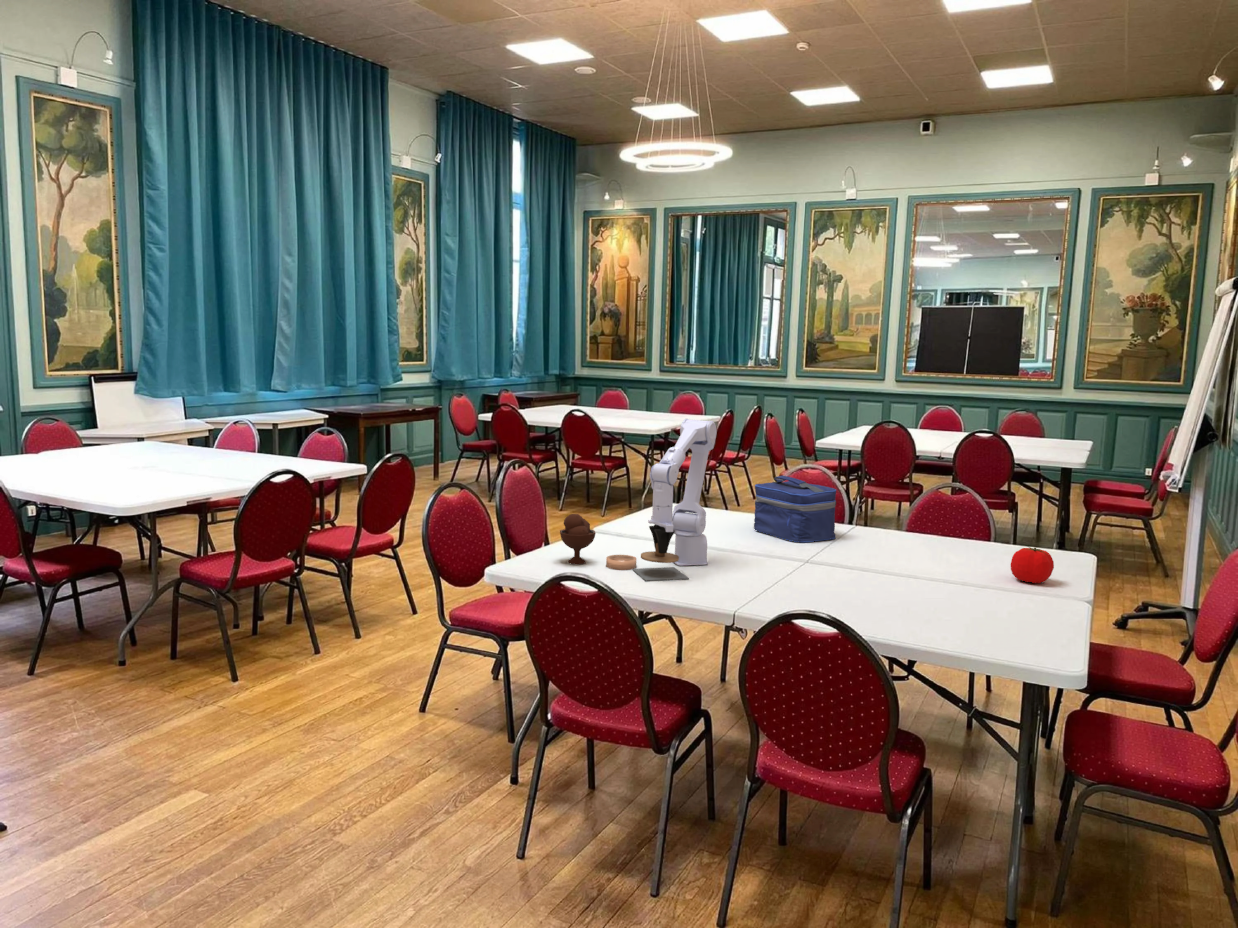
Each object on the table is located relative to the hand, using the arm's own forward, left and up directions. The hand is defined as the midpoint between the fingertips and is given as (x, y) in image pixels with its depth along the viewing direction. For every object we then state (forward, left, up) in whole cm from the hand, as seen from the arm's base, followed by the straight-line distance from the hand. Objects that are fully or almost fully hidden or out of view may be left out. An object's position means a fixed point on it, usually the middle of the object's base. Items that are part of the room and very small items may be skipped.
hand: (660, 551), depth 263 cm
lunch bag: (-66, -48, -7) cm, 81 cm away
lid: (0, 0, -2) cm, 2 cm away
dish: (+8, -12, -7) cm, 16 cm away
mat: (0, 0, -7) cm, 7 cm away
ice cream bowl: (+20, -19, -7) cm, 28 cm away
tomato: (-107, +25, -7) cm, 110 cm away
